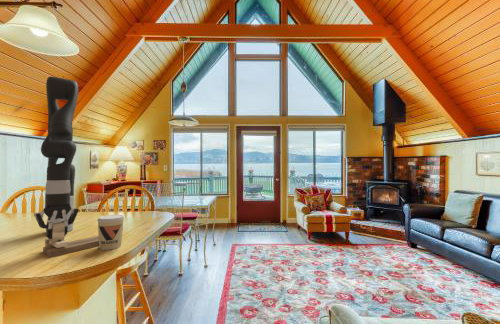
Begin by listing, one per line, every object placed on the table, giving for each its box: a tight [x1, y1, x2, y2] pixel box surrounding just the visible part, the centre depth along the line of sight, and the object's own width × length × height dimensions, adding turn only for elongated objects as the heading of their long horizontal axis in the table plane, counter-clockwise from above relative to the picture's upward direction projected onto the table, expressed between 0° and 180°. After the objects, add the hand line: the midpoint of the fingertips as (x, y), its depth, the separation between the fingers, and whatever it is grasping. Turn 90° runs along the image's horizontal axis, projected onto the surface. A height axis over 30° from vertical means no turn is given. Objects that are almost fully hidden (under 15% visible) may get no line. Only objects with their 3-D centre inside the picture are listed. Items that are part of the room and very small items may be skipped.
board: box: [42, 235, 99, 258], centre depth 97 cm, size 8×20×2 cm, turn 146°
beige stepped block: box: [44, 222, 68, 248], centre depth 92 cm, size 9×5×10 cm, turn 56°
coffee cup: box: [97, 214, 125, 251], centre depth 99 cm, size 9×9×12 cm
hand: (56, 237), depth 93 cm, fingers closed on beige stepped block, 3 cm apart
